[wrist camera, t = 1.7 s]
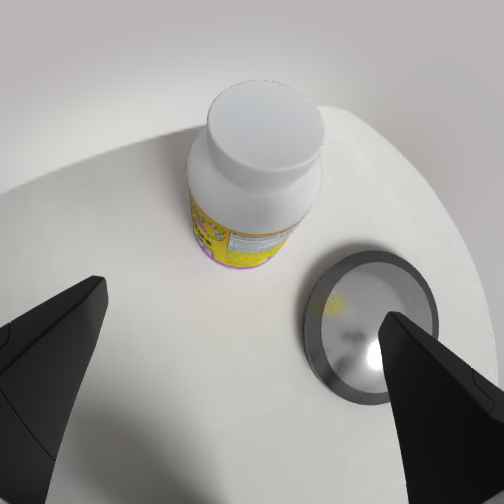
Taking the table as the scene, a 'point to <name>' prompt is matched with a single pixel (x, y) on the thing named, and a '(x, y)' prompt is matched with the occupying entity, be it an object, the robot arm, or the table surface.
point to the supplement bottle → (254, 172)
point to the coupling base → (362, 321)
